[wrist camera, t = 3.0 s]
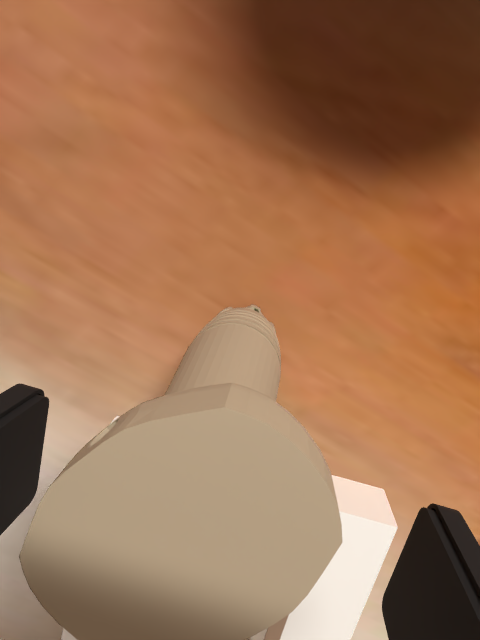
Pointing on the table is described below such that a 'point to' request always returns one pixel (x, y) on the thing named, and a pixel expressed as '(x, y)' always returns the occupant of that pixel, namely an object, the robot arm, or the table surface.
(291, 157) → the table surface
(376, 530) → the socket board
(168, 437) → the handle
